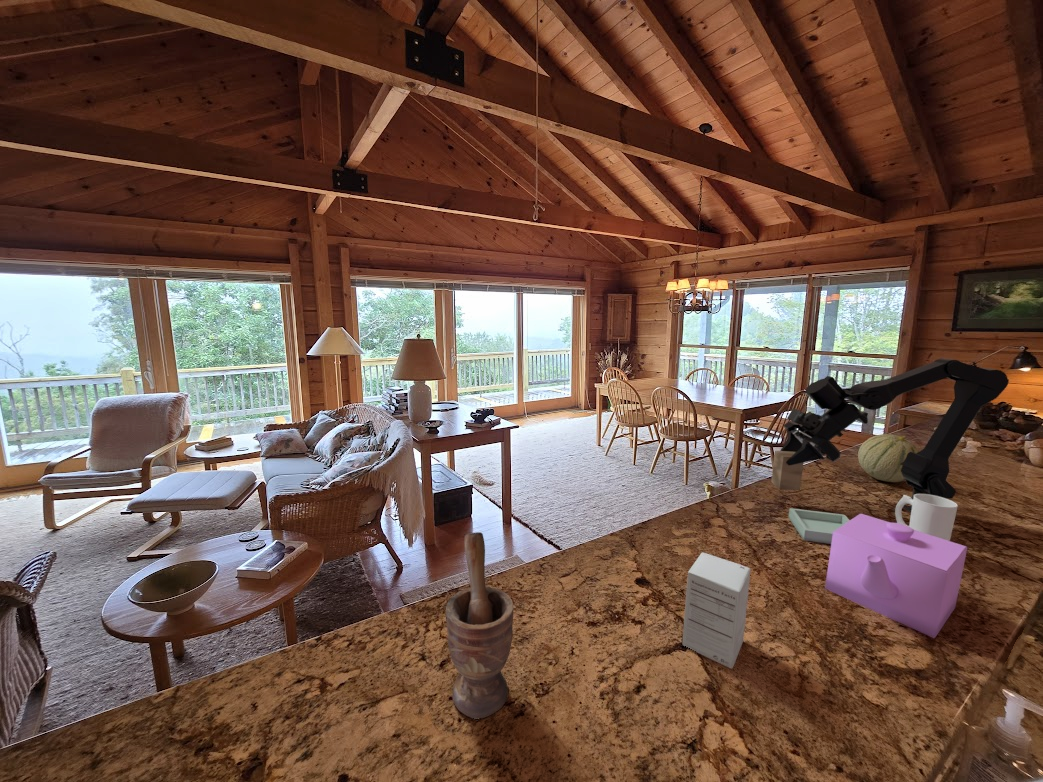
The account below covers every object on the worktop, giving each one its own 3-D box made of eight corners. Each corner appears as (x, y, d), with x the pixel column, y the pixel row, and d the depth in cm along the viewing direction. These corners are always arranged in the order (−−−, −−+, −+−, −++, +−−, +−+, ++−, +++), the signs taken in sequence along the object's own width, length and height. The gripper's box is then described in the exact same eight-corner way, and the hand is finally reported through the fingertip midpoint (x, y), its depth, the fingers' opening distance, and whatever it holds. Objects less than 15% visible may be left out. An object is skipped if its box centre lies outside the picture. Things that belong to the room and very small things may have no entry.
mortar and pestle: (430, 668, 61) (426, 539, 58) (484, 644, 66) (483, 523, 62) (464, 735, 51) (461, 585, 48) (525, 701, 56) (526, 562, 52)
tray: (788, 517, 108) (789, 508, 108) (843, 524, 105) (844, 514, 104) (803, 540, 97) (805, 530, 97) (865, 548, 94) (867, 538, 93)
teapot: (807, 603, 76) (817, 530, 73) (860, 559, 90) (870, 496, 87) (920, 659, 64) (937, 573, 61) (961, 597, 78) (976, 526, 75)
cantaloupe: (854, 468, 144) (860, 425, 141) (912, 478, 135) (920, 432, 132) (856, 482, 132) (863, 435, 129) (920, 493, 123) (929, 443, 121)
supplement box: (695, 620, 71) (701, 550, 69) (744, 641, 67) (752, 567, 64) (680, 645, 66) (686, 571, 63) (732, 671, 61) (740, 591, 59)
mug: (955, 558, 90) (965, 505, 88) (934, 563, 88) (944, 509, 86) (901, 535, 100) (909, 486, 98) (881, 539, 98) (889, 489, 96)
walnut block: (771, 482, 117) (774, 450, 116) (791, 483, 116) (794, 451, 115) (779, 489, 112) (783, 456, 111) (800, 490, 111) (804, 457, 110)
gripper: (794, 392, 119) (748, 429, 122) (832, 406, 100) (777, 449, 104) (822, 421, 119) (775, 457, 122) (864, 440, 101) (808, 482, 104)
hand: (782, 460), depth 113 cm, fingers closed on walnut block, 5 cm apart
